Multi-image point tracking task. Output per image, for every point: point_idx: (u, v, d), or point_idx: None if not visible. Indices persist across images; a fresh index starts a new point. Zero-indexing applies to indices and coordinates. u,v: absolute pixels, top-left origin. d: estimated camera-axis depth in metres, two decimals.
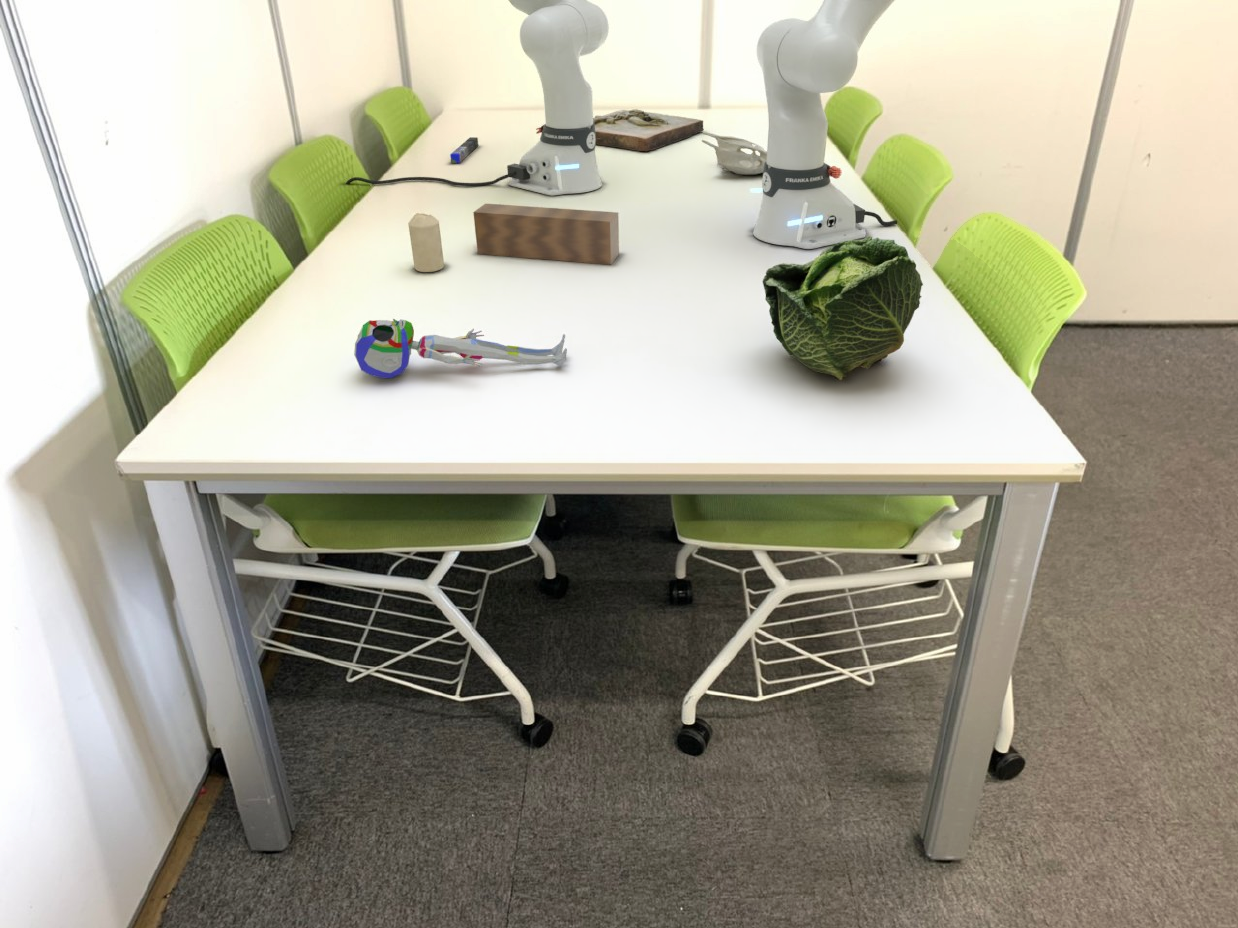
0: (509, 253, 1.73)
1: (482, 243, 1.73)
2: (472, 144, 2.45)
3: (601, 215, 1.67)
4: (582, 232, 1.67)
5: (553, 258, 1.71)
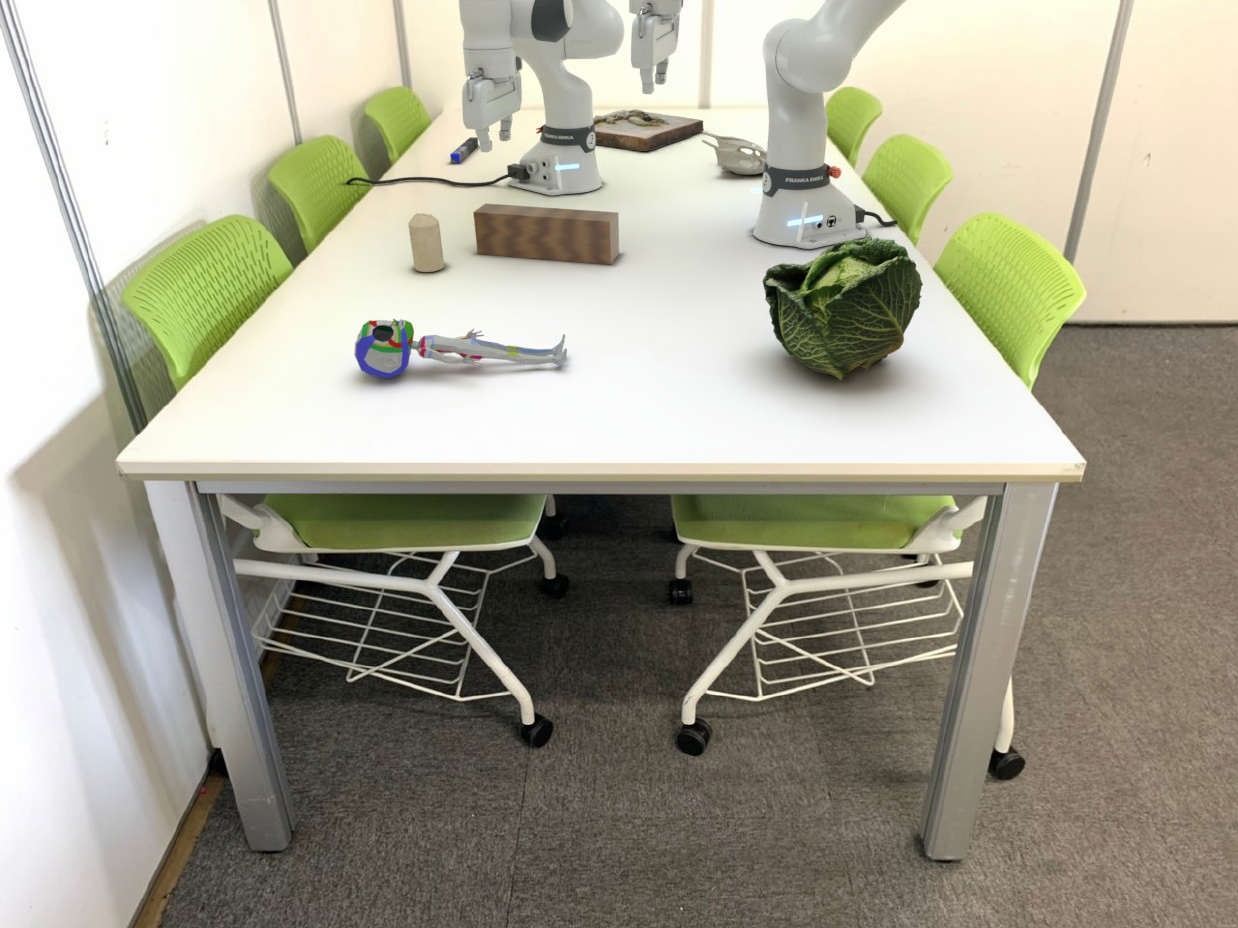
0: (509, 253, 1.73)
1: (482, 243, 1.73)
2: (472, 144, 2.45)
3: (601, 215, 1.67)
4: (582, 232, 1.67)
5: (553, 258, 1.71)
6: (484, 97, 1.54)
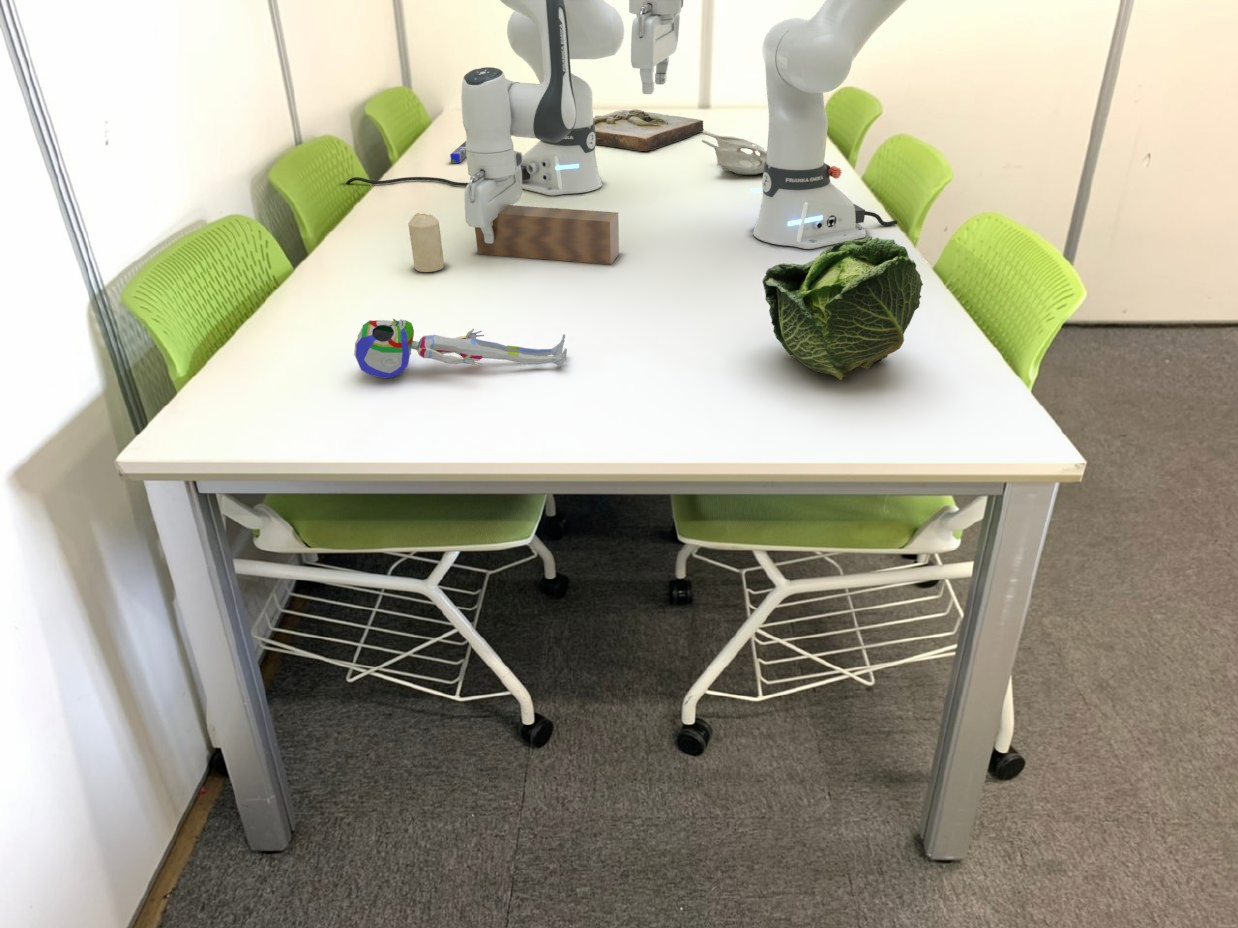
0: (509, 253, 1.73)
1: (482, 243, 1.73)
2: None
3: (601, 215, 1.67)
4: (582, 232, 1.67)
5: (553, 258, 1.71)
6: (485, 198, 1.63)
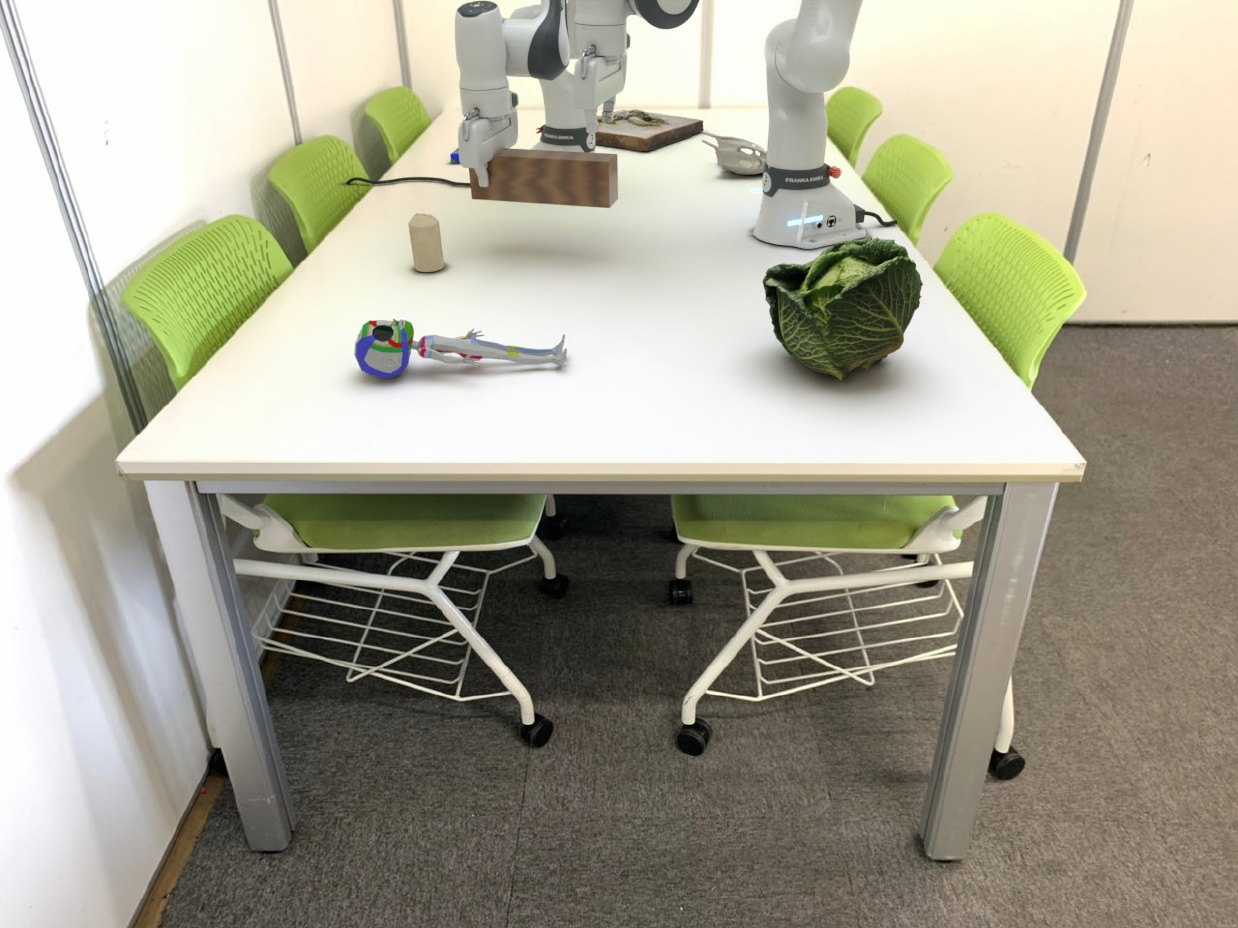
0: (505, 198, 1.67)
1: (476, 187, 1.68)
2: None
3: (599, 157, 1.61)
4: (580, 174, 1.61)
5: (550, 202, 1.65)
6: (480, 137, 1.57)
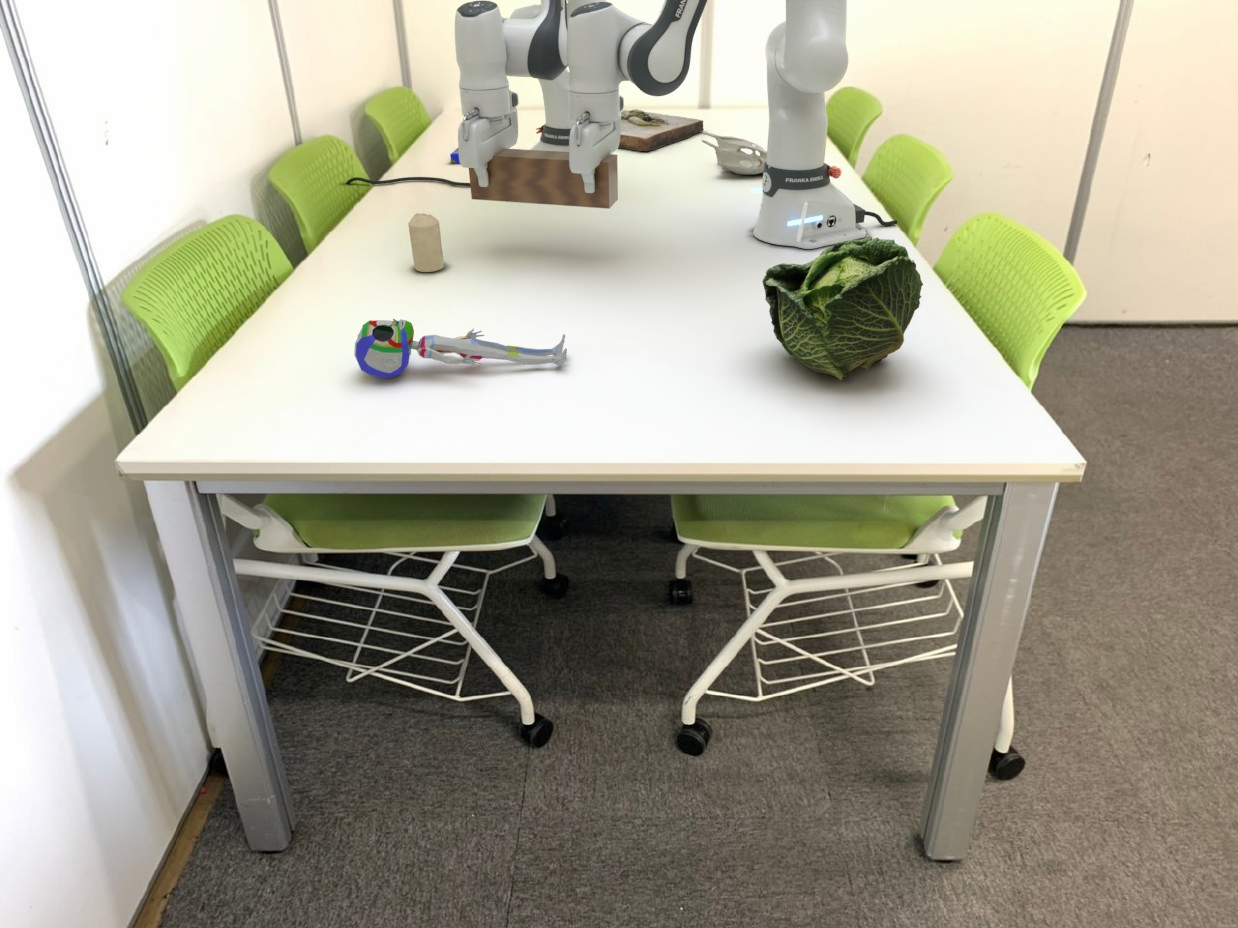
0: (505, 198, 1.67)
1: (476, 187, 1.68)
2: None
3: None
4: (580, 174, 1.61)
5: (550, 202, 1.65)
6: (480, 137, 1.57)
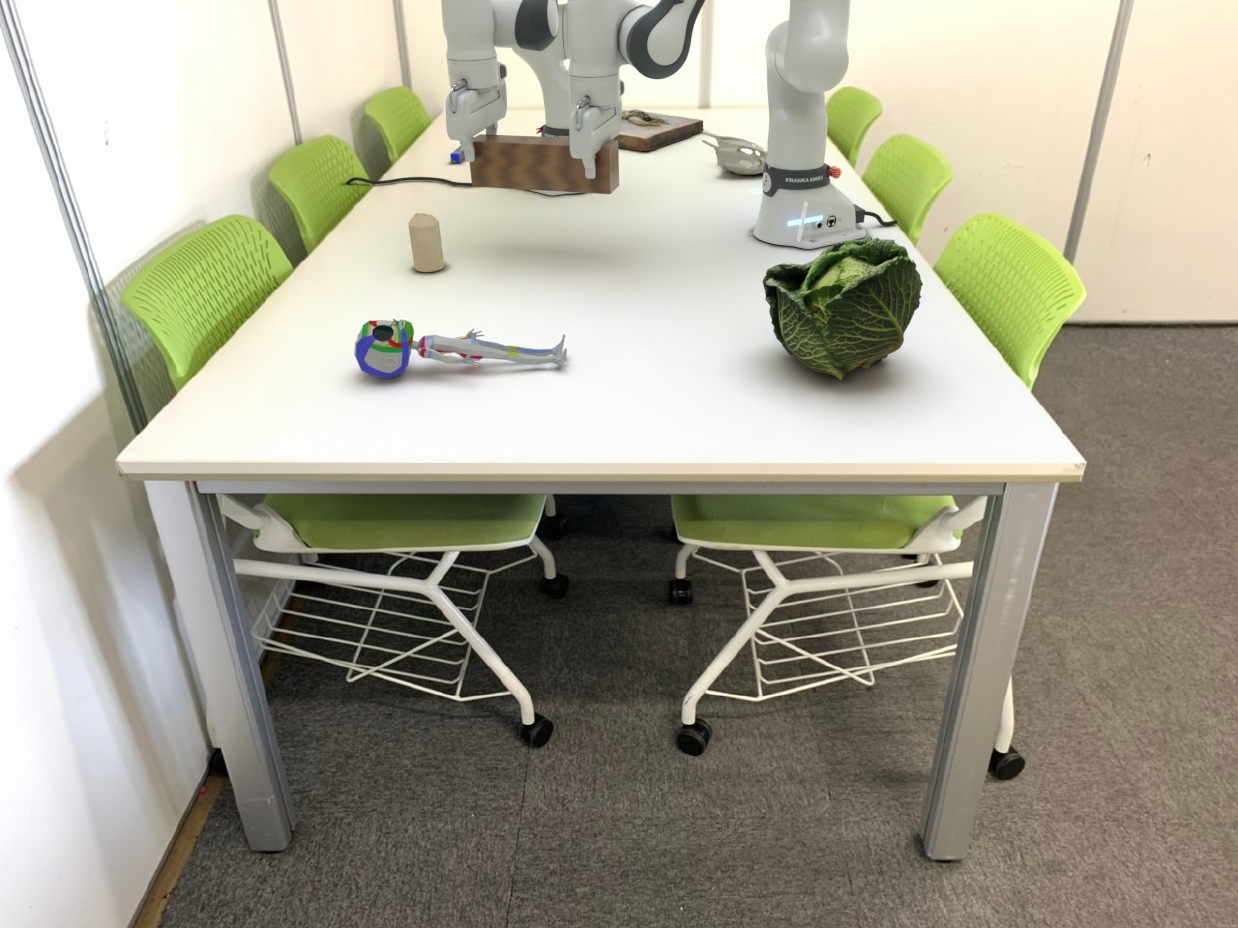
0: (505, 185, 1.66)
1: (476, 174, 1.66)
2: None
3: None
4: (580, 160, 1.60)
5: (550, 189, 1.64)
6: (467, 108, 1.55)
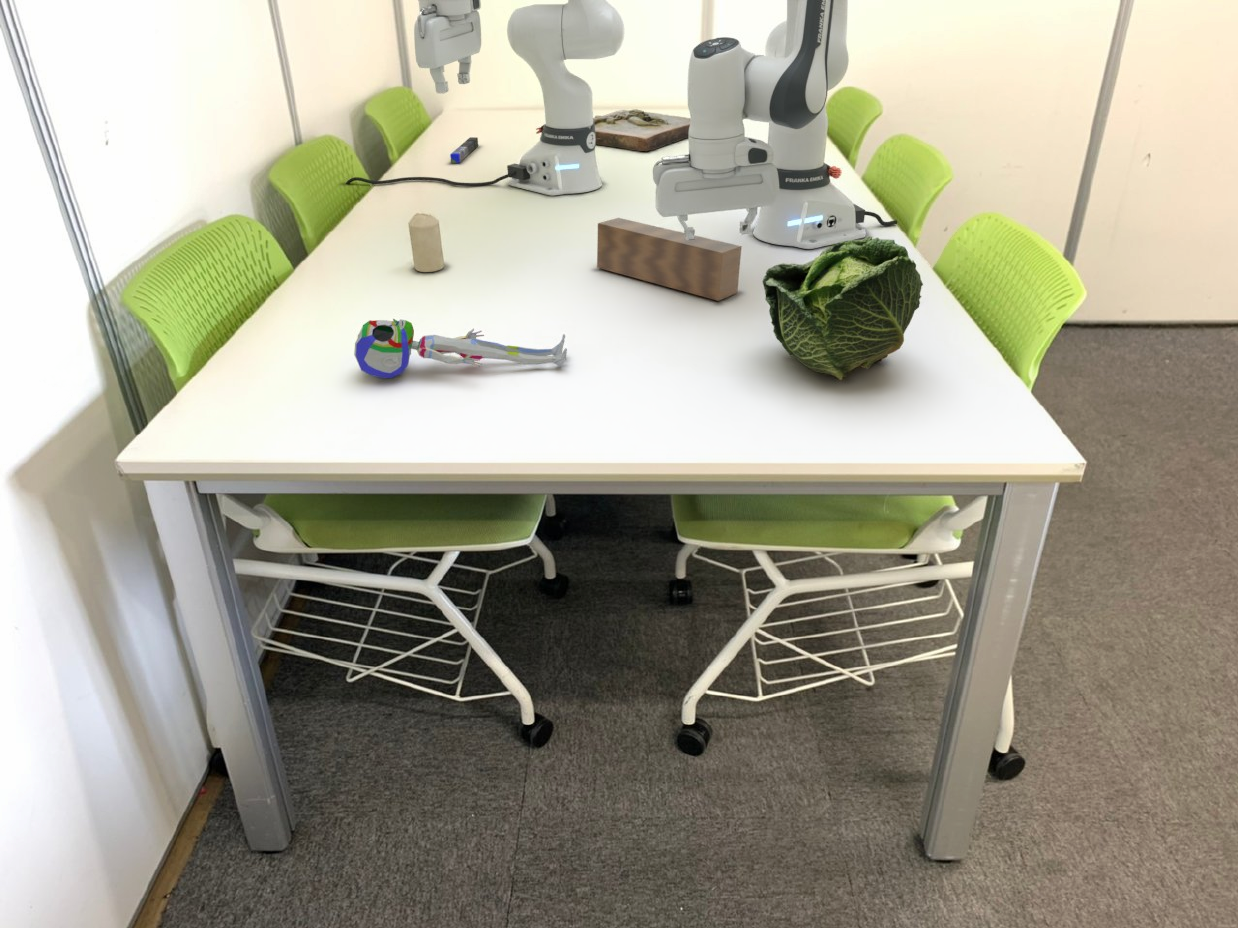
0: (625, 272, 1.62)
1: (602, 256, 1.64)
2: (472, 144, 2.45)
3: (720, 246, 1.51)
4: (695, 261, 1.52)
5: (664, 284, 1.57)
6: (437, 34, 1.50)
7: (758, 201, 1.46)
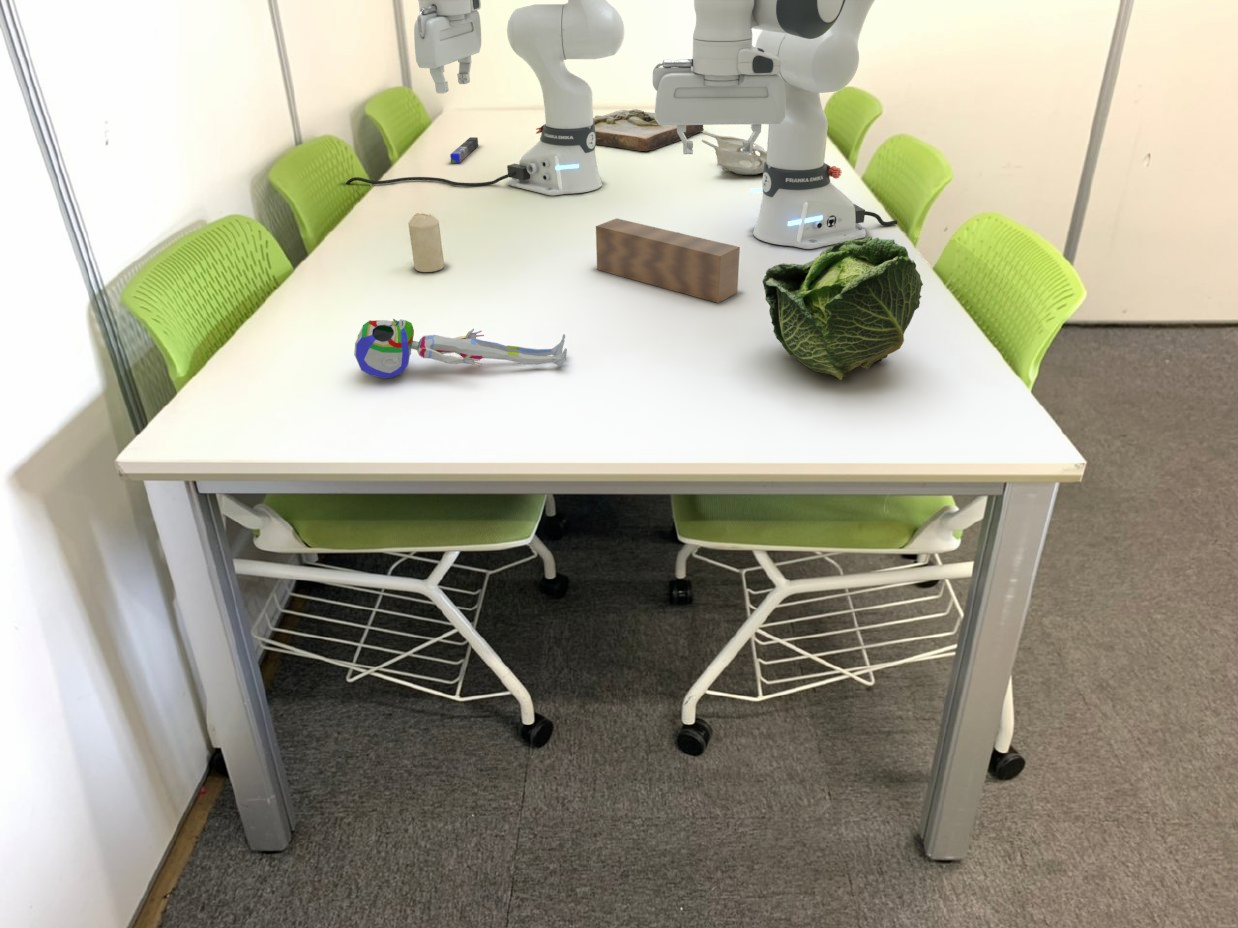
0: (625, 274, 1.62)
1: (601, 259, 1.64)
2: (472, 144, 2.45)
3: (718, 248, 1.51)
4: (693, 263, 1.51)
5: (664, 286, 1.58)
6: (437, 34, 1.50)
7: (762, 117, 1.38)
